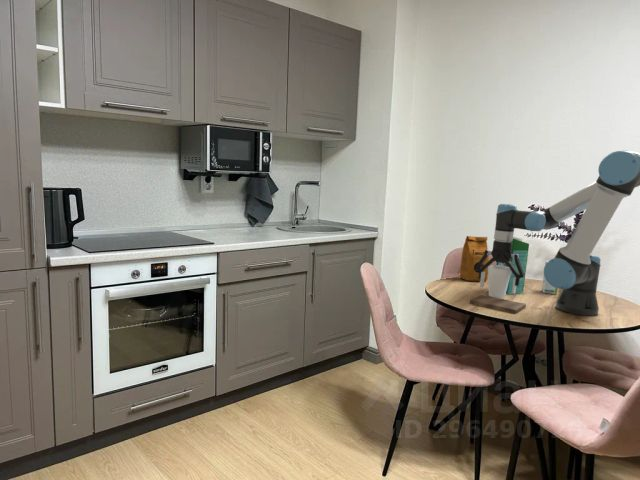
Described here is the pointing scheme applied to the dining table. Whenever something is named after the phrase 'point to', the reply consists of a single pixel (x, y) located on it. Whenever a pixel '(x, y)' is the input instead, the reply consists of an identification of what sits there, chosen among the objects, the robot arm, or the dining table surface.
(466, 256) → the coffee package
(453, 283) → the dining table surface
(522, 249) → the milk carton
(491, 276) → the foam cup
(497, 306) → the walnut board
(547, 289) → the syrup box
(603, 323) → the dining table surface
